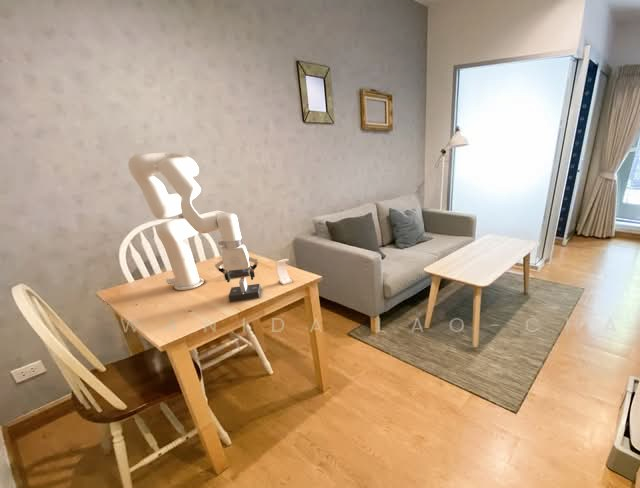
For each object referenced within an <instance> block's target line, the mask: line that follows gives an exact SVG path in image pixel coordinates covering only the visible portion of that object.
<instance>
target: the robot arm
mask: <svg viewBox="0 0 640 488" xmlns="http://www.w3.org/2000/svg"><path fill="white" fill-rule="evenodd" d="M127 166H128V170H129V173H130V174H131V176H132V178H133V179H134V181H135V182H136V184H137V185H138V186H139V188H140V190H141V192H142V195H143V196H144V198H145V201H146V203H147V206H148V208H149V209H150V212H151V213H152V215H153V216H154V217H155V218H157V219H160V220H161V219H162V220H163V219H164V220H165V219H169V218H173V217H177V216H178V218H175V219H174V218H173V219H170V220H167V221H163V222H161V223H159V224H158V225H157V226H156V229H155V231H156V232H155V233H156V235H157V237H158V239H159V241H160V243H161V244H162V246H163V248H164V250H165V253H166V256H167V258H168V262H169V264H170V268H171V271H172V273H173V276H174V277H173V278H167V279H165V282H166V283H167V284H168V285H173V287H174V290H176V291H186V290H191V289H192V290H193V289H196V288H198V287H200V286H202V285H203V284H204V283H205V280H204V278H202V277H200V275H199V272H198V269H197V266H196V263H195V260H194V257H193V252H192V251H191V248H190V247H189V245H188V244H186V243H185V242H184V241H183V240H186V239H189V238H192V237H195V236H197V235H198V234H203V235H204V234H208V233H211V232H215V231H218V230H219V235H220V239H221V240H220V241H218V245H219V246H222V247H221V250H220V251H221V260H219V261H218V262H216V263H215V264H214V268H216V269H217V271H218V272H220V273H222V274H223V276H224V280H225V281H226V282H227V283H230V282H231V278H230V276H229V272H228V271H231V270H241V269H247V268H248V269H249V270H250V274H249V277H250V280H252V281H253V280H254V278H255V277H256V275H255V272H254V271H255V269H257V267H258V264H259V259H257V258H253V257H250V255H249V252H248V250H247V247H246V245H245V244H244V243H243V239H242V234H241V229H240V224H239V220H238V217H237V216H238V215H236V214H235V213H232V212H226V211H223V210H213V211H208V212H205V213H201V214H199V213H198V211H197V210H196V209H195V208H194V206H193V203H192V201H193V200H194V199H196V198H197V197H198V196H199V195H200V194H201V192H202V188H201V186H200V185H199V184H198V182H197V181H196V180H195V179H194V177H197V176H198V175H199V173H200V168H199V166H198V164H197V162H196V161H195V160H194V159H193V158H191V157H190V156H187V155H183V154H179V153H175V152H172V151H161V152H146V153H138V154H134V155H132V156H131V157H129V159H128V164H127ZM155 175H162V176H163V178H164V179H165V180H166V182H168V184H169V185H170V186H171V187H172V188H173V190H174V191H175V193H168V191H167V189H166V186H165V185H164V183H163V182H162V181H161V180H160V179H159V178H157V177H156V176H155ZM251 262H252V263H253V264H251ZM221 265H223V267H222V266H221Z"/></svg>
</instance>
